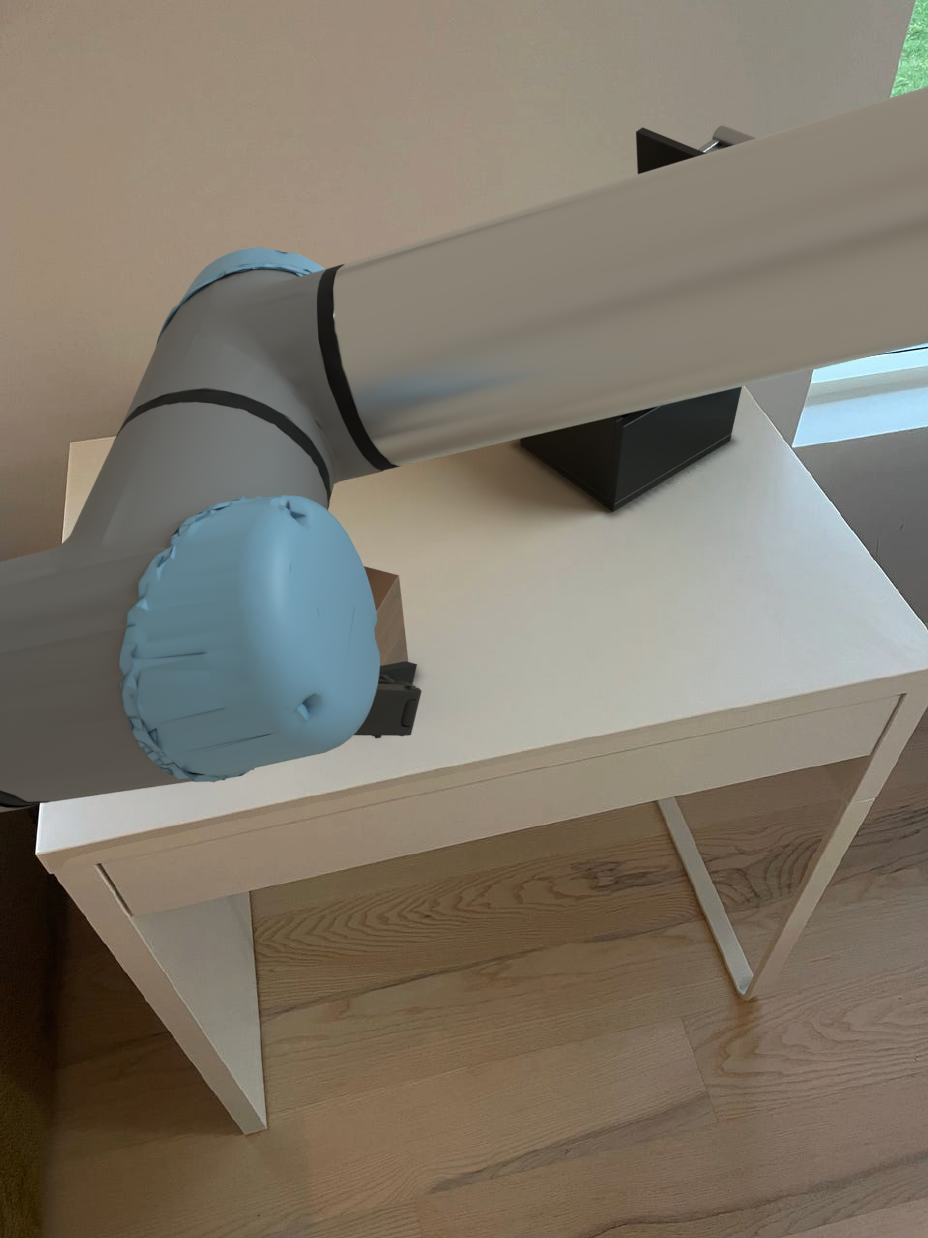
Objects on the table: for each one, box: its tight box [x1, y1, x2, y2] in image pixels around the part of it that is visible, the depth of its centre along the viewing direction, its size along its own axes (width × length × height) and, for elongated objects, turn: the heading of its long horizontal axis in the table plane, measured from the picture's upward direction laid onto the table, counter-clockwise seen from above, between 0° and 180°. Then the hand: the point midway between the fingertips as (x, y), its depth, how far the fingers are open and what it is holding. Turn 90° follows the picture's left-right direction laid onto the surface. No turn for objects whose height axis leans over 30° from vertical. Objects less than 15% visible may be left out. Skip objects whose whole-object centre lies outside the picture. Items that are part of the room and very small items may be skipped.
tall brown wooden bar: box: [363, 565, 409, 666], centre depth 70 cm, size 4×5×11 cm
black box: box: [519, 386, 743, 513], centre depth 90 cm, size 16×13×9 cm
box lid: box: [635, 124, 757, 175], centre depth 84 cm, size 17×13×7 cm
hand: (307, 655), depth 61 cm, fingers open, 13 cm apart
